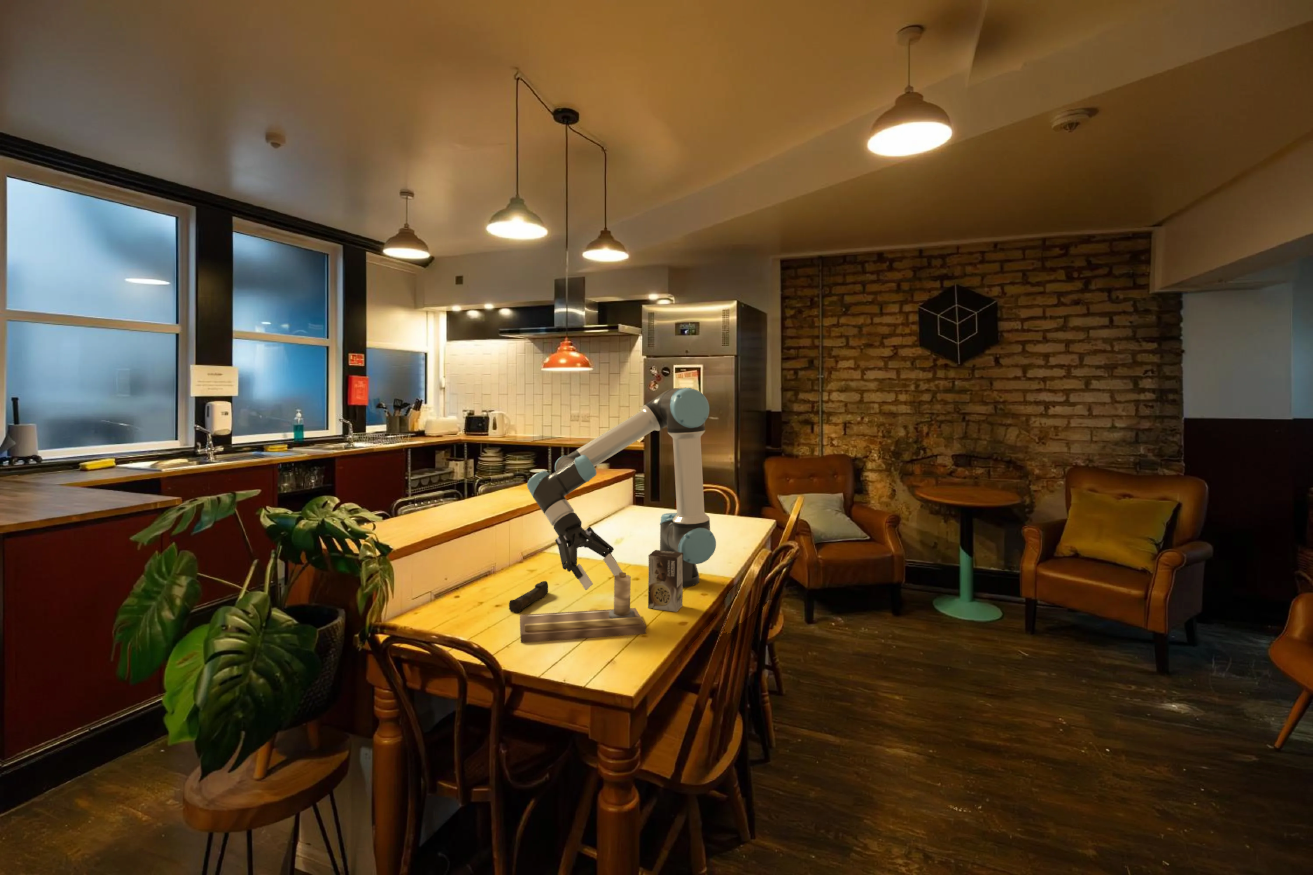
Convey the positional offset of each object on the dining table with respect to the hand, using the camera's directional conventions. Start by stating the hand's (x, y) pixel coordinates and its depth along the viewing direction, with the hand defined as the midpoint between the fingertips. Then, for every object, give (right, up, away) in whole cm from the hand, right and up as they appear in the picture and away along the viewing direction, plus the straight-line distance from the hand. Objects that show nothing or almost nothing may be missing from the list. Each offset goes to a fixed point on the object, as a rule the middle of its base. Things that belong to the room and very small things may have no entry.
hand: (604, 580), depth 170 cm
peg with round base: (+5, -9, -1) cm, 11 cm away
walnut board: (-6, -11, -5) cm, 14 cm away
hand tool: (-24, -10, +15) cm, 30 cm away
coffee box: (+17, -11, +13) cm, 24 cm away
